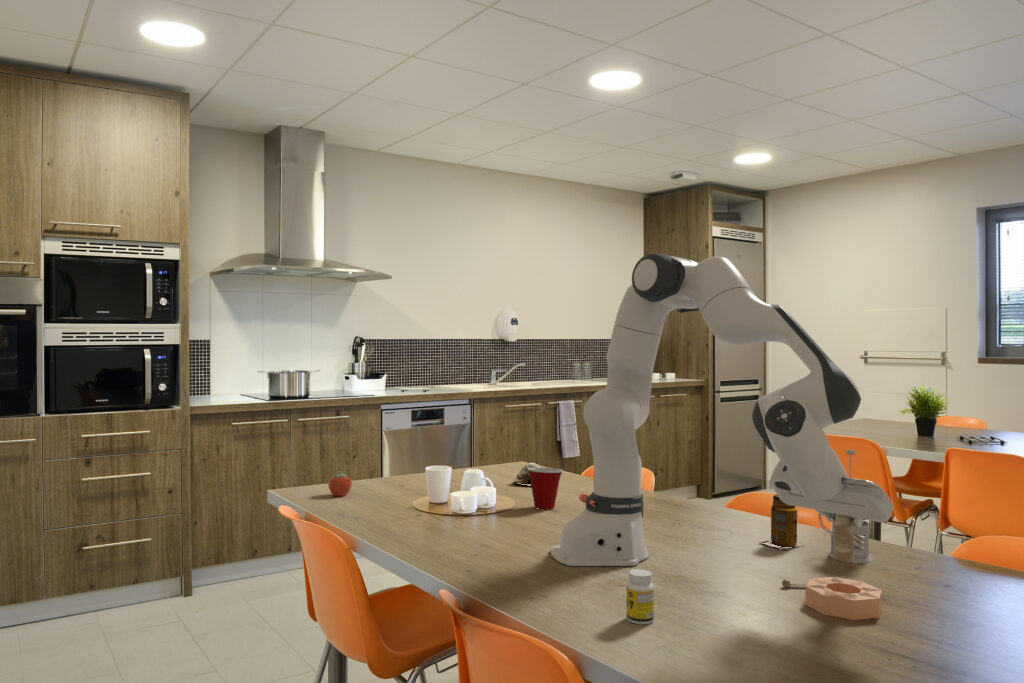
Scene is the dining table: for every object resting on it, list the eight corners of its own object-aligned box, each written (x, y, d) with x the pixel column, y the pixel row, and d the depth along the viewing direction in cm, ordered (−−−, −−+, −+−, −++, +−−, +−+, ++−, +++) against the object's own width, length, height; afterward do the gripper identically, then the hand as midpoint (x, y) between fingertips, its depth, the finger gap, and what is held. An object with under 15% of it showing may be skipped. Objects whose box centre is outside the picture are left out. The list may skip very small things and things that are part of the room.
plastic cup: (569, 506, 219) (569, 467, 219) (551, 513, 210) (552, 472, 210) (538, 502, 225) (538, 463, 225) (520, 508, 216) (520, 468, 216)
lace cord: (783, 588, 145) (783, 580, 145) (780, 586, 147) (780, 578, 147) (872, 590, 145) (872, 582, 145) (868, 587, 146) (868, 579, 146)
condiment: (804, 546, 177) (805, 497, 178) (783, 551, 173) (783, 500, 173) (779, 539, 184) (779, 491, 184) (757, 544, 179) (757, 495, 179)
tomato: (348, 498, 229) (349, 473, 229) (325, 498, 229) (325, 472, 229) (354, 493, 236) (354, 469, 237) (331, 493, 237) (331, 468, 237)
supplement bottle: (623, 615, 130) (623, 568, 130) (649, 614, 130) (649, 568, 131) (630, 625, 125) (630, 576, 125) (656, 624, 126) (657, 576, 126)
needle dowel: (842, 562, 133) (842, 491, 133) (830, 557, 136) (830, 488, 137) (858, 561, 134) (857, 490, 134) (845, 556, 137) (845, 487, 137)
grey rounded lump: (510, 484, 249) (512, 459, 256) (513, 500, 256) (514, 475, 263) (545, 484, 248) (546, 459, 255) (547, 500, 255) (547, 475, 262)
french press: (871, 565, 161) (871, 453, 161) (815, 557, 167) (815, 449, 168) (875, 555, 170) (876, 448, 170) (822, 547, 176) (822, 444, 176)
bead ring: (836, 621, 128) (836, 601, 128) (793, 598, 140) (793, 579, 140) (896, 616, 130) (896, 596, 130) (849, 593, 143) (849, 575, 143)
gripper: (883, 468, 123) (909, 518, 129) (774, 454, 139) (802, 499, 145) (871, 498, 120) (898, 547, 126) (761, 480, 136) (789, 525, 142)
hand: (845, 521), depth 136 cm, fingers closed on needle dowel, 3 cm apart
